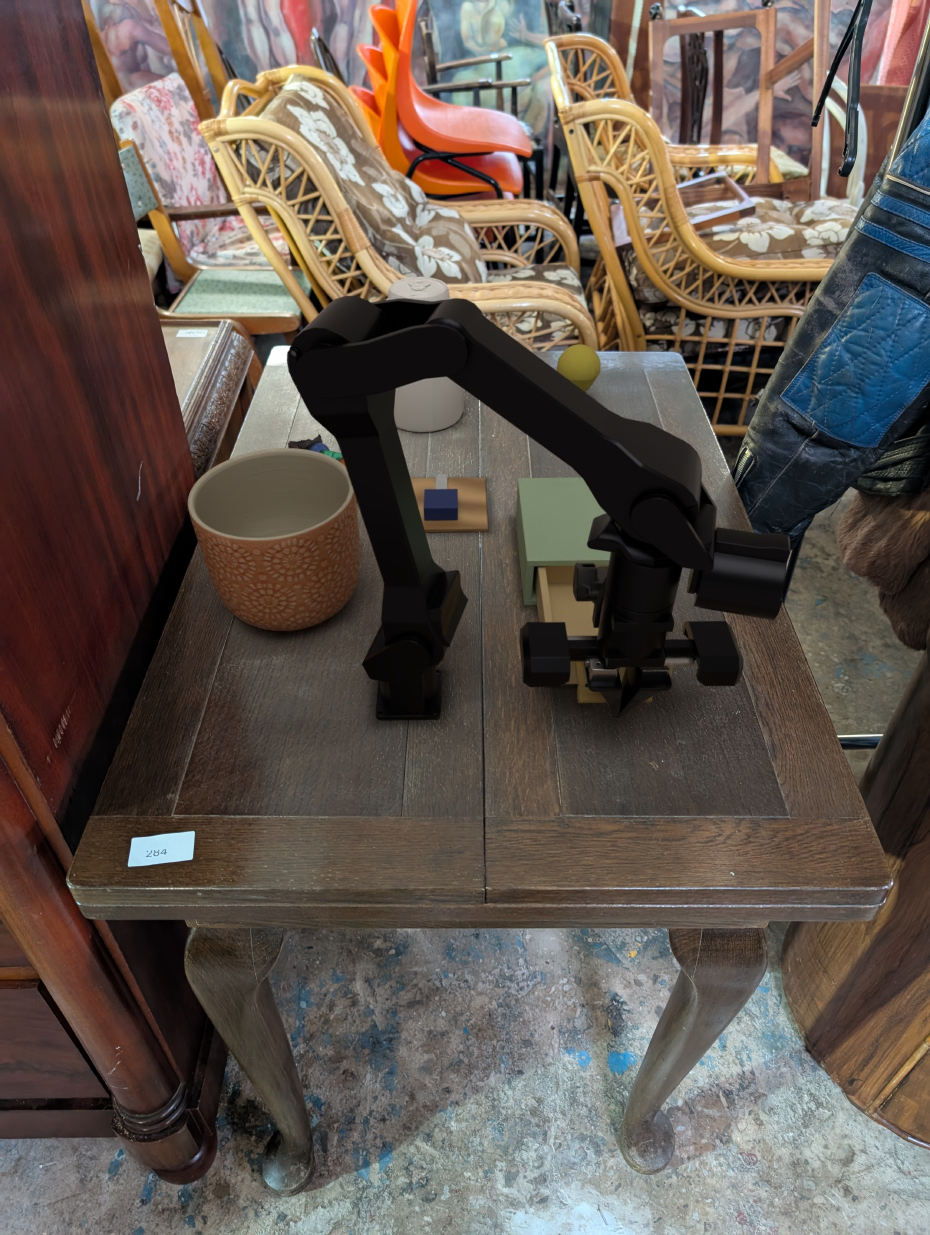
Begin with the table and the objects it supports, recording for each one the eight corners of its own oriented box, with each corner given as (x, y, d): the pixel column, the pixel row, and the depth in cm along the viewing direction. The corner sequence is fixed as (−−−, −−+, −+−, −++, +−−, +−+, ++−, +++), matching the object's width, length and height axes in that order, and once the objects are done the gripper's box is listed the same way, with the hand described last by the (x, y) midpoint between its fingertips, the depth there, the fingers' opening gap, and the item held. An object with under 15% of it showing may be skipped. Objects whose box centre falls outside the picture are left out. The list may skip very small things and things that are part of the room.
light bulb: (549, 413, 125) (554, 352, 118) (558, 394, 129) (563, 334, 123) (591, 419, 123) (599, 358, 117) (599, 400, 128) (606, 340, 121)
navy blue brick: (458, 520, 103) (457, 507, 102) (424, 520, 103) (423, 508, 102) (457, 480, 110) (457, 467, 109) (425, 480, 110) (425, 468, 109)
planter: (397, 601, 92) (388, 490, 82) (274, 676, 83) (246, 563, 73) (310, 537, 101) (292, 431, 91) (191, 599, 92) (156, 489, 82)
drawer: (680, 720, 78) (689, 687, 74) (543, 722, 78) (546, 689, 74) (642, 585, 93) (649, 552, 89) (528, 586, 93) (530, 554, 89)
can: (388, 395, 130) (379, 268, 116) (465, 396, 129) (464, 269, 116) (379, 433, 120) (368, 301, 107) (461, 435, 120) (460, 302, 106)
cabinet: (650, 604, 92) (659, 559, 87) (524, 605, 92) (527, 560, 87) (626, 519, 104) (634, 476, 99) (515, 521, 104) (517, 477, 99)
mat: (487, 531, 102) (487, 528, 102) (394, 532, 102) (394, 529, 102) (484, 480, 111) (484, 477, 111) (398, 481, 111) (398, 478, 110)
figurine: (380, 496, 108) (376, 455, 104) (333, 517, 104) (327, 476, 100) (333, 463, 114) (328, 423, 110) (287, 482, 111) (280, 442, 107)
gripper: (729, 530, 71) (695, 653, 81) (520, 531, 71) (513, 655, 81) (765, 615, 62) (722, 740, 73) (528, 616, 62) (519, 741, 73)
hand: (615, 714), depth 75 cm, fingers closed
